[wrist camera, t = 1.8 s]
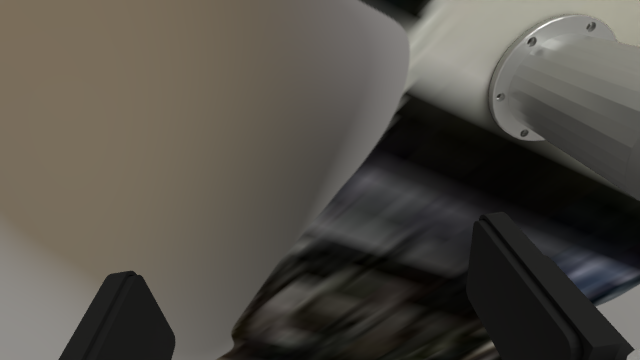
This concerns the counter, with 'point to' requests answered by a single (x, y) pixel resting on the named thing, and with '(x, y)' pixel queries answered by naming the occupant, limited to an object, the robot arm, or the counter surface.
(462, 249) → the counter surface
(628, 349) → the robot arm
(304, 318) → the counter surface
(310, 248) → the counter surface
